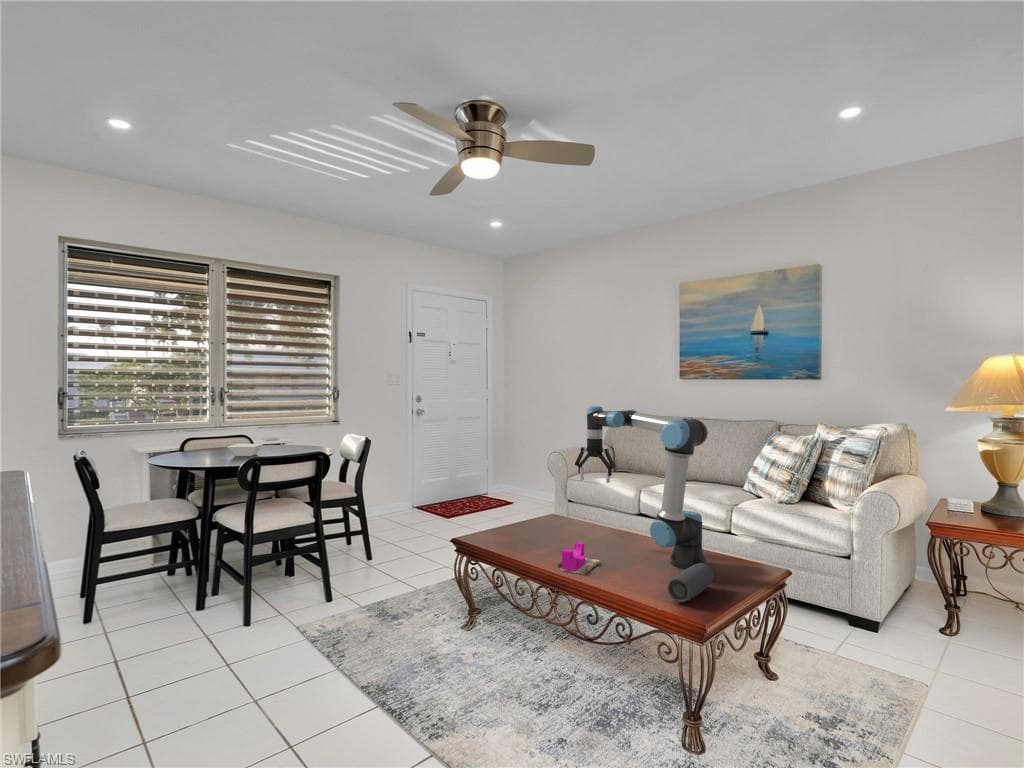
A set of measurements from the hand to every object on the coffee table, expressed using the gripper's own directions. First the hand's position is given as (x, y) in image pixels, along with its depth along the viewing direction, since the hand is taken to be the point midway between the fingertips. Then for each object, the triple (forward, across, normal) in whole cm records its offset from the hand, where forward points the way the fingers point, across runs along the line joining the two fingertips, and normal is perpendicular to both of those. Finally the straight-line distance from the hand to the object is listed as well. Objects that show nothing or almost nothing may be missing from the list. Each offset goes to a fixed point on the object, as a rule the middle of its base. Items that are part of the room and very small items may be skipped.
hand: (594, 481), depth 263 cm
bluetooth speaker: (+32, -54, +39) cm, 74 cm away
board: (+32, -5, +30) cm, 44 cm away
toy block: (+31, -4, +32) cm, 45 cm away
